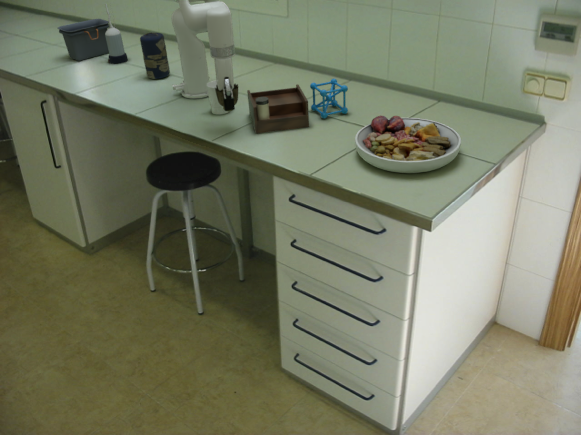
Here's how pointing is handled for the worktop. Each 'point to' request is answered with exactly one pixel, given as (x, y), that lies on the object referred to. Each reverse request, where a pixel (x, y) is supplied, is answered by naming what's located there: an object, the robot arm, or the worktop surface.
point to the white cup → (214, 98)
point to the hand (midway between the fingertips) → (228, 104)
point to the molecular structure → (329, 98)
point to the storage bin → (85, 38)
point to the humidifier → (115, 44)
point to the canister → (155, 55)
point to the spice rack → (280, 110)
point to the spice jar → (262, 108)
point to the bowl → (407, 144)
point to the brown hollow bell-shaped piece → (221, 95)
